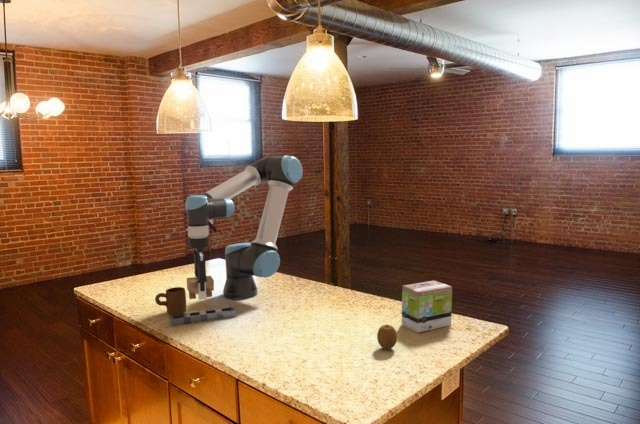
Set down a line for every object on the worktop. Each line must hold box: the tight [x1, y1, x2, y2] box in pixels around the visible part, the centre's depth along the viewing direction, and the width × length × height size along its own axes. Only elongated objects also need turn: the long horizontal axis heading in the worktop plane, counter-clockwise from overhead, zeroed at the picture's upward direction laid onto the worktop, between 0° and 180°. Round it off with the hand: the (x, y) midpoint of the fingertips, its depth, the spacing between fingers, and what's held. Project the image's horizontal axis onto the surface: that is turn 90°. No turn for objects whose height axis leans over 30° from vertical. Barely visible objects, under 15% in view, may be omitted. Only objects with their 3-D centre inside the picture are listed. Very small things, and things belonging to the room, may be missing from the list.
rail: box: [169, 306, 237, 327], centre depth 180 cm, size 24×5×3 cm, turn 112°
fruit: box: [376, 324, 398, 350], centre depth 149 cm, size 6×6×8 cm
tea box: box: [401, 280, 453, 334], centre depth 168 cm, size 15×10×15 cm
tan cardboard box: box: [186, 275, 215, 300], centre depth 178 cm, size 9×7×7 cm
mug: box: [154, 286, 187, 316], centre depth 187 cm, size 12×8×9 cm, turn 128°
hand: (201, 296), depth 179 cm, fingers closed on tan cardboard box, 7 cm apart
